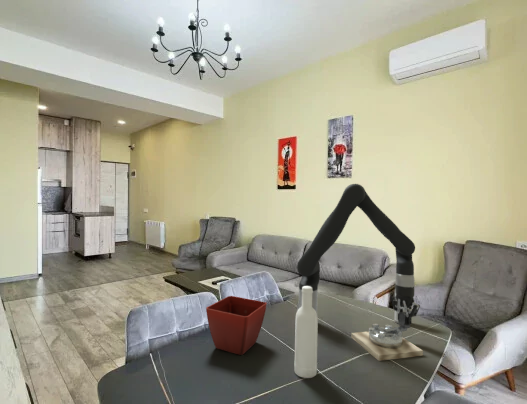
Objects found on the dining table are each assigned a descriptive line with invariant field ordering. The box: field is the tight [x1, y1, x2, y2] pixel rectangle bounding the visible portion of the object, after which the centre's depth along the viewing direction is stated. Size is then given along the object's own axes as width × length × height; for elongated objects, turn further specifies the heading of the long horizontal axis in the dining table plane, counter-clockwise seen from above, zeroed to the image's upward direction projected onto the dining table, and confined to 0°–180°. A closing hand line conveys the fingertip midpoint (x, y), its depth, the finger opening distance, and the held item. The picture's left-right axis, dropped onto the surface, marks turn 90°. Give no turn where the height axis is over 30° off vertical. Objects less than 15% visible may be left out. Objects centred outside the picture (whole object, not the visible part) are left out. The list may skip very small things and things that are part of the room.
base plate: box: [350, 330, 424, 362], centre depth 125 cm, size 20×20×2 cm
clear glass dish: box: [368, 312, 411, 348], centre depth 127 cm, size 19×13×10 cm
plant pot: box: [205, 295, 267, 356], centre depth 123 cm, size 19×19×17 cm
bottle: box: [293, 286, 319, 379], centre depth 105 cm, size 8×8×30 cm
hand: (404, 323), depth 130 cm, fingers closed on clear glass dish, 3 cm apart
